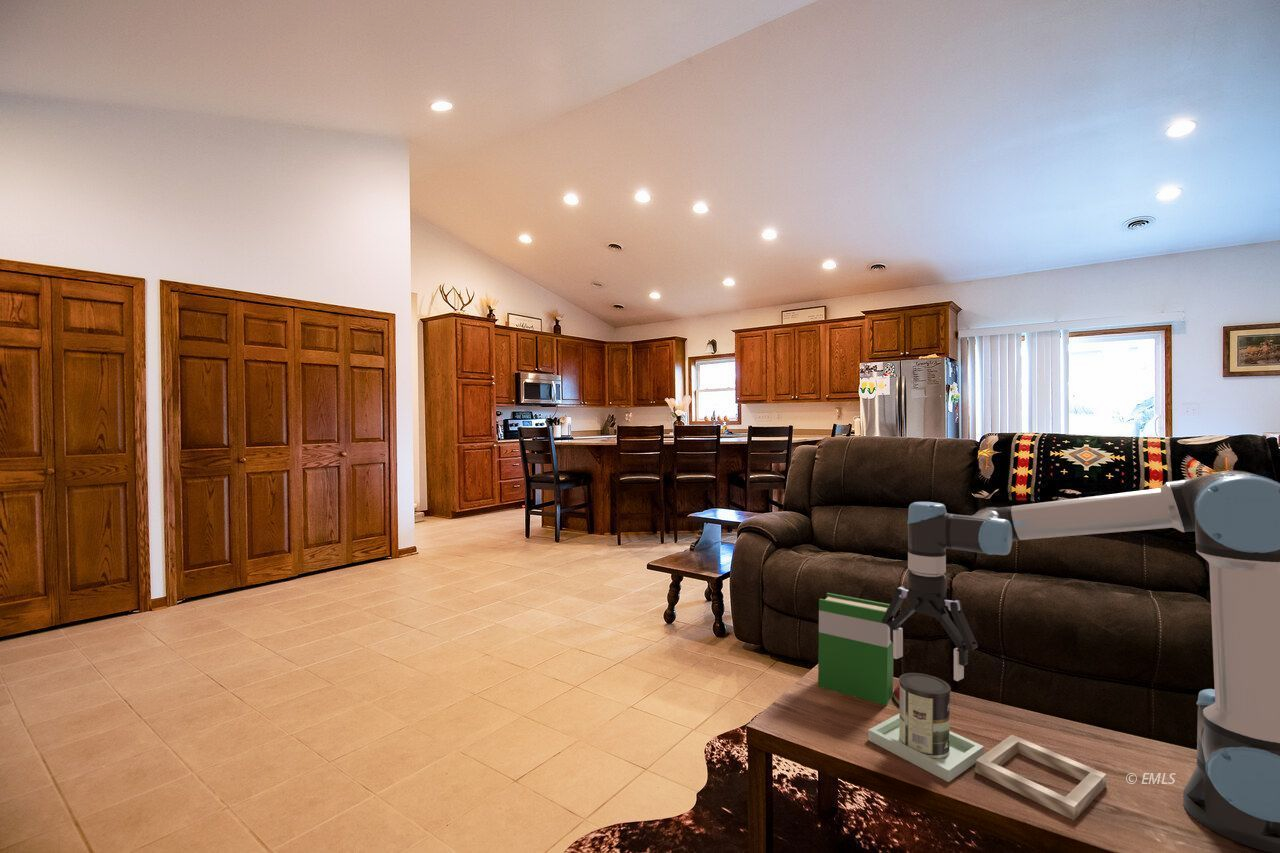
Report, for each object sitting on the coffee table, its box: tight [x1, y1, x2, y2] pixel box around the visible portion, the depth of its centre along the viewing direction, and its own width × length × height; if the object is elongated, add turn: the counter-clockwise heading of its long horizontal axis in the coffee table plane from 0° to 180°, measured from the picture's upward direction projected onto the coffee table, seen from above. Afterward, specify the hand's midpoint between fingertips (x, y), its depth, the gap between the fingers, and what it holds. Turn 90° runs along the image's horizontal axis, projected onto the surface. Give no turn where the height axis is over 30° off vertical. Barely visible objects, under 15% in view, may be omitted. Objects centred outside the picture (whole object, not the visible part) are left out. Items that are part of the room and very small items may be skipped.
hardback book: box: [817, 592, 895, 707], centre depth 152 cm, size 18×7×24 cm, turn 55°
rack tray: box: [867, 713, 985, 783], centre depth 125 cm, size 18×15×2 cm
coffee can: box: [898, 672, 952, 759], centre depth 125 cm, size 10×10×14 cm
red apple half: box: [892, 684, 900, 706], centre depth 146 cm, size 7×10×4 cm
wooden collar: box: [975, 734, 1107, 821], centre depth 114 cm, size 17×17×2 cm
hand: (927, 667), depth 124 cm, fingers open, 13 cm apart
